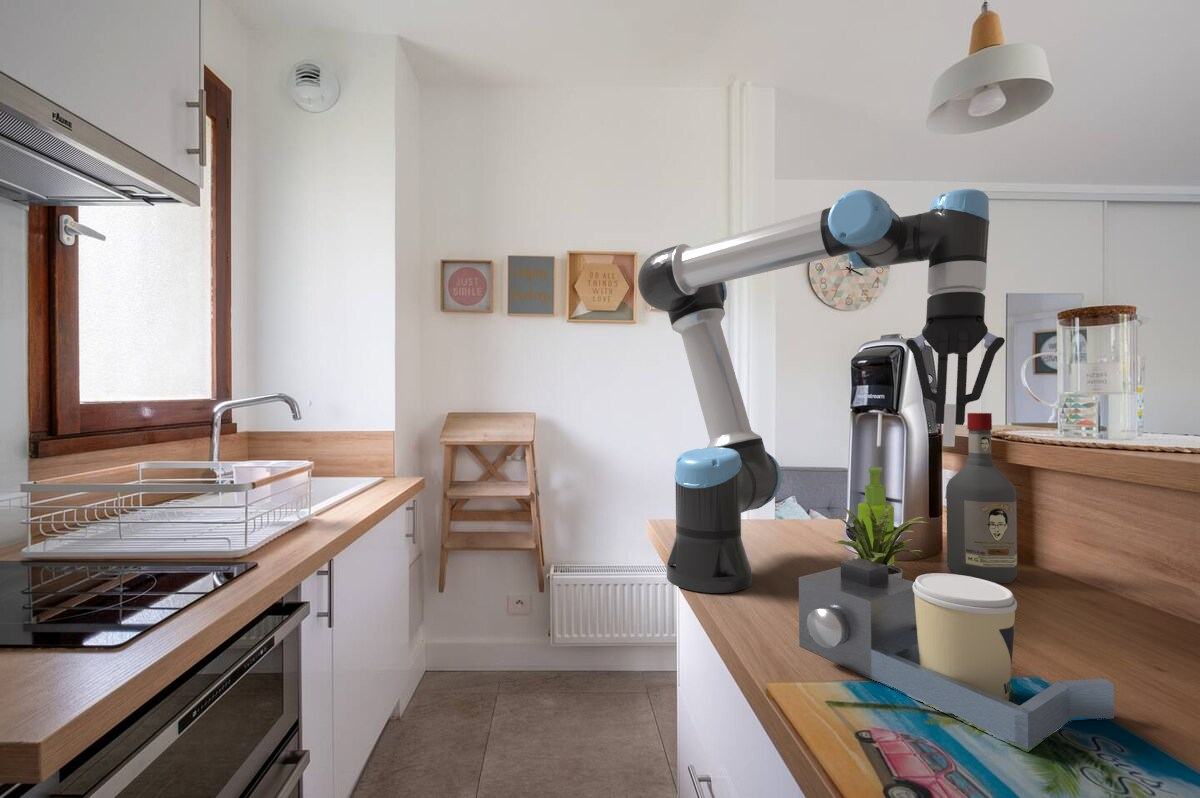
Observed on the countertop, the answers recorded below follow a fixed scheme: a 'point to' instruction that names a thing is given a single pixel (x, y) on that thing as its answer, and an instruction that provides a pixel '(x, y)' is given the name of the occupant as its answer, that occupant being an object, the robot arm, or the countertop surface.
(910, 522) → the house plant
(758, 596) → the countertop surface
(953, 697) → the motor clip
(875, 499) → the soap dispenser
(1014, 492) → the liquor
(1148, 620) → the countertop surface
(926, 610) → the coffee cup
